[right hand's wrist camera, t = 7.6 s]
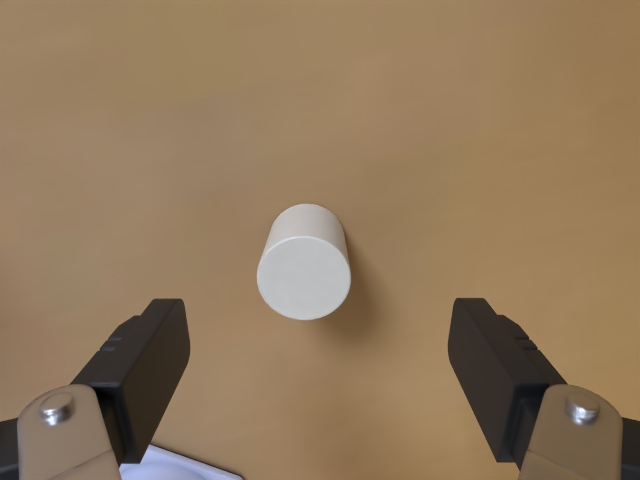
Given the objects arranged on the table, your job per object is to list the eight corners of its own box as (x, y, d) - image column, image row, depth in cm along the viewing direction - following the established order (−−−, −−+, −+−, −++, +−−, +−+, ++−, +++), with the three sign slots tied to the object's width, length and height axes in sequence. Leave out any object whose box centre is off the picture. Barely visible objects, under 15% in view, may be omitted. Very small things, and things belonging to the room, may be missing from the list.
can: (280, 278, 20) (270, 328, 16) (261, 211, 19) (245, 247, 15) (350, 264, 20) (358, 311, 16) (336, 196, 19) (341, 227, 14)
